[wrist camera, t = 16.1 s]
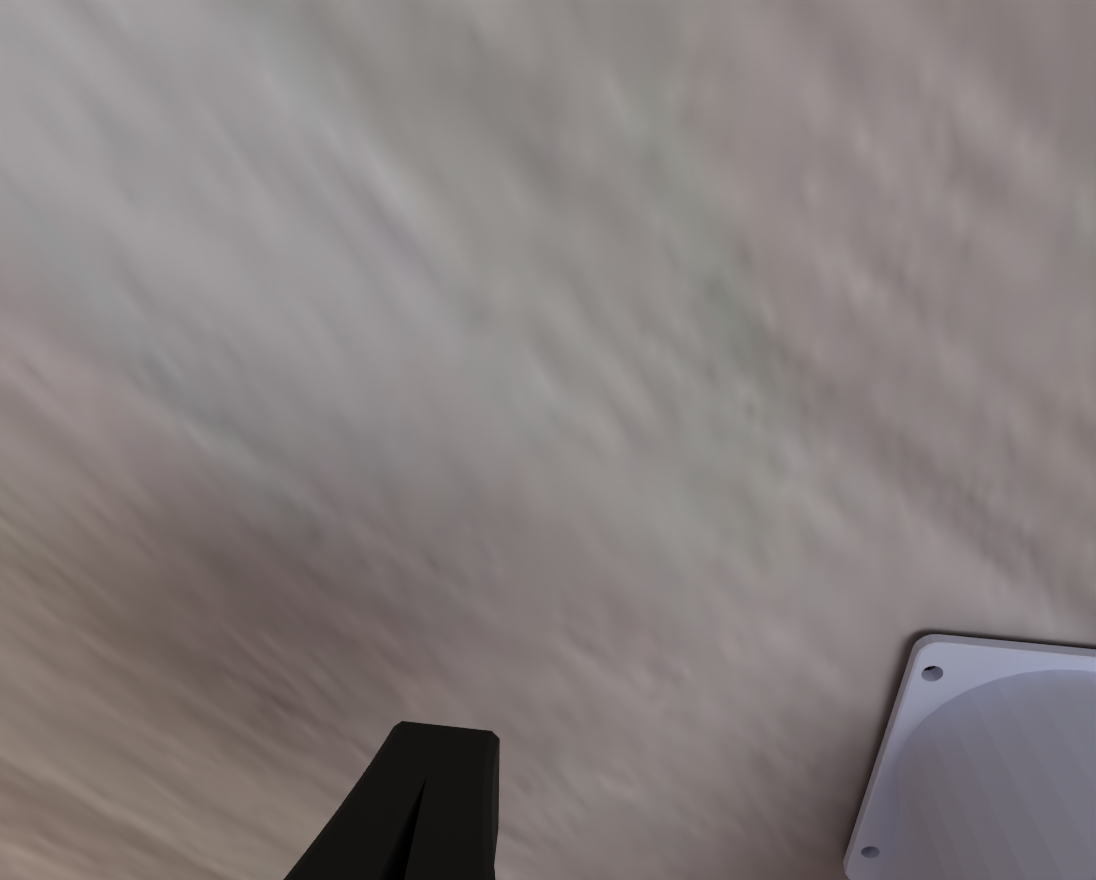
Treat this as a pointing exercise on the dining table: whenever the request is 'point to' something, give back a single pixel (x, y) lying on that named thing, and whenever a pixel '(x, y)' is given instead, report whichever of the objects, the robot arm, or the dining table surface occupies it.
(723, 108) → the dining table surface
